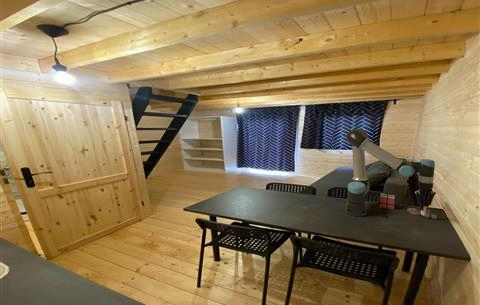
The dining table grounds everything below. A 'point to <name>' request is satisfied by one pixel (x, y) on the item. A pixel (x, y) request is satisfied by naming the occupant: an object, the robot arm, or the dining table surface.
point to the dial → (417, 212)
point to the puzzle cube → (387, 201)
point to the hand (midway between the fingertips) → (423, 214)
